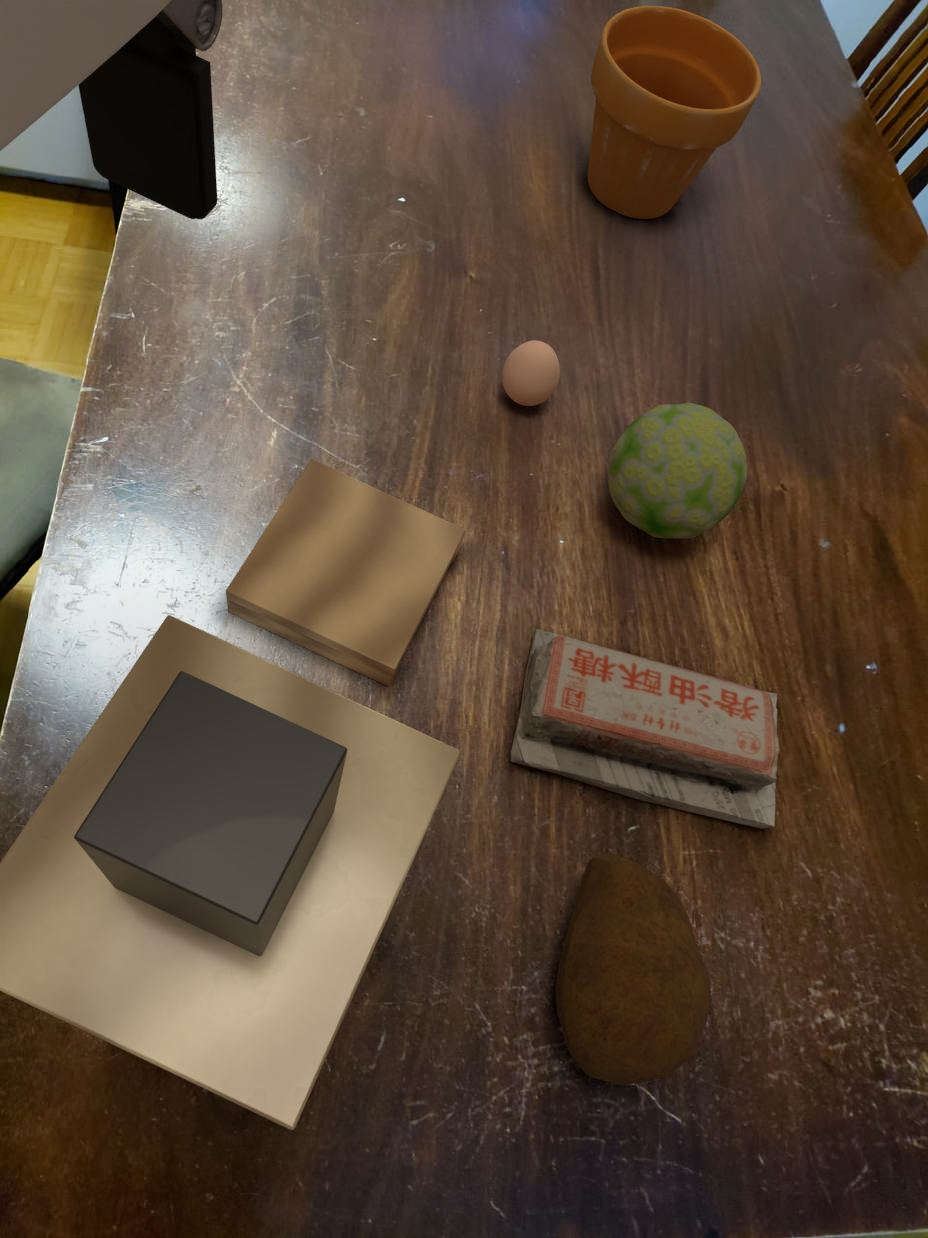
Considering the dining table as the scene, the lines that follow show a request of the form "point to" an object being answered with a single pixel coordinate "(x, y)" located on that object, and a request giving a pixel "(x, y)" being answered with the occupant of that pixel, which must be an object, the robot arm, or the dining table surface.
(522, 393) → the egg
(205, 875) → the block
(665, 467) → the decorative ball
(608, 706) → the packaged product
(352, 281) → the dining table surface
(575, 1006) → the potato
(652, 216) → the flower pot
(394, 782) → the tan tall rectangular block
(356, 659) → the tan flat square block
